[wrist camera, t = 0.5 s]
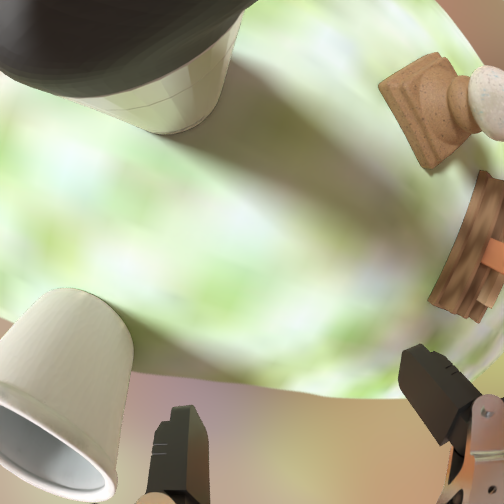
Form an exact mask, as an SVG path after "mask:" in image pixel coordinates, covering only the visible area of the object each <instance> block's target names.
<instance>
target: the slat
mask: <svg viewBox="0 0 504 504" xmlns="http://www.w3.org/2000/svg"><path fill="white" fill-rule="evenodd" d="M480 263H482V264H484V265H486V266H488V267H490V268H492V269H494V270H496V271H497V272H499V273H501V274H503V275H504V243H502V242H500V241H497V240H495V239H493V238H490V240H489V243H488V245H487V248H486V250H485V253H484V255H483V258H482V260H481V262H480Z"/></svg>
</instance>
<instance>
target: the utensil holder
mask: <svg viewBox="0 0 504 504" xmlns="http://www.w3.org/2000/svg"><path fill="white" fill-rule="evenodd" d="M133 358H134V346H133V341H132V338H131V335H130V332H129V330H128V328H127V326H126V325H125V323H124V322H123V320H122V319H121V318H120V316H119V315H118V314H117V313H116V312H115V311H114V310H113V309H112V308H111V307H110V306H109V305H108V304H106V303H105V302H104V301H102V300H101V299H99V298H98V297H96V296H94V295H92V294H89V293H87V292H84V291H82V290H78V289H73V288H58V289H53V290H50V291H48V292H46V293H45V294H43V295H42V296H41V297H40V298H39V299H38V300H37V301H36V302H34V303H33V304H32V305H31V306H30V307H29V308H28V309H27V310H26V312H25V313H24V314H23V315H22V316H21V317H20V318H19V319H18V320H17V321H16V322H15V323H14V325H13V326H12V327H11V328H10V329H9V330H8V331H7V333H6V334H5V335H4V336H3V337H2V338H1V340H0V464H1V465H2V466H3V467H4V468H6V469H7V470H9V471H10V472H11V473H13V474H15V475H16V476H18V477H19V478H21V479H22V480H24V481H26V482H28V483H29V484H32V485H33V486H35V487H37V488H40V489H42V490H44V491H47V492H49V493H52V494H55V495H57V496H61V497H64V498H68V499H72V500H77V501H84V502H100V501H105V500H108V499H110V498H111V497H113V495H114V494H115V492H116V489H117V483H118V477H117V472H116V463H117V455H118V448H119V440H120V433H121V426H122V420H123V413H124V408H125V403H126V397H127V392H128V386H129V380H130V374H131V369H132V364H133Z"/></svg>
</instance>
